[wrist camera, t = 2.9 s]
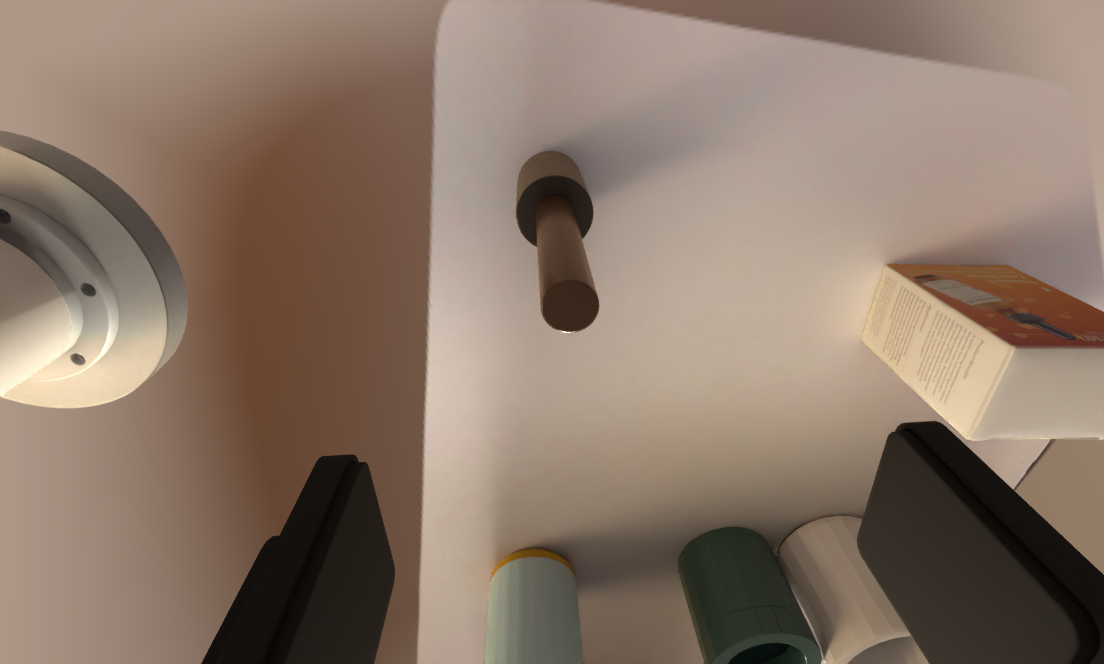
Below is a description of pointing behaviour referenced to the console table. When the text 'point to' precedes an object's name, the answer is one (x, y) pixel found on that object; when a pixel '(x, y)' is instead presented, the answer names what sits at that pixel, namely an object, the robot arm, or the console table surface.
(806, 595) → the mug
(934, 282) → the small box
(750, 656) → the green pen holder
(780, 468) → the console table surface
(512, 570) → the bottle
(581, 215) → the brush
